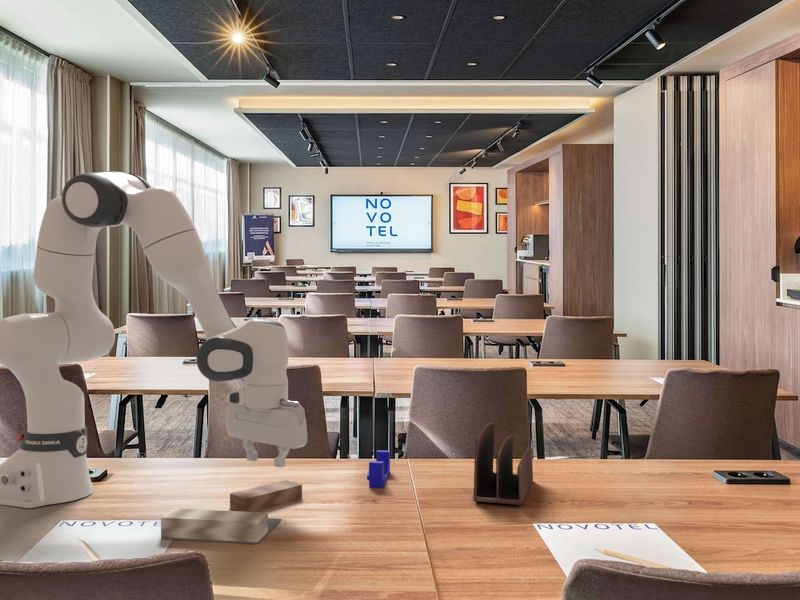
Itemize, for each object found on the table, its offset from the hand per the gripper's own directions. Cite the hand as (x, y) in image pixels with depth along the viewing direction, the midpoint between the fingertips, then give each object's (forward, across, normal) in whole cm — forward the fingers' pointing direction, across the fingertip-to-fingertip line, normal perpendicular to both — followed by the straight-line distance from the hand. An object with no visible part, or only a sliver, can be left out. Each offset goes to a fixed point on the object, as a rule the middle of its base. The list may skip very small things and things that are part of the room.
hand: (265, 463), depth 151 cm
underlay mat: (+8, -5, +16) cm, 18 cm away
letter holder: (+8, -37, -36) cm, 52 cm away
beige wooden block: (+8, -7, +19) cm, 22 cm away
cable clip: (+8, -9, -26) cm, 29 cm away
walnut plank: (+9, 0, 0) cm, 9 cm away
